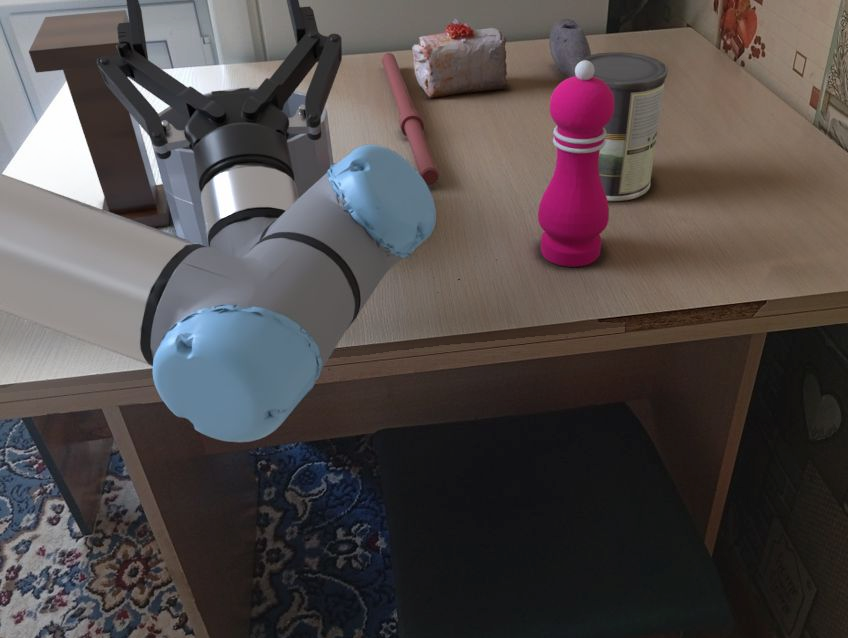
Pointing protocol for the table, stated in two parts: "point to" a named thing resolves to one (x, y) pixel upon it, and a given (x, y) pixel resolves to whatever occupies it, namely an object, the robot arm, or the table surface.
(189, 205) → the pot
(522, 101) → the table surface
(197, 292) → the robot arm
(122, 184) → the pedestal
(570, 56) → the perforated stone tool
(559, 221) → the pepper mill
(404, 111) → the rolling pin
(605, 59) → the coffee can
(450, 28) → the food item
